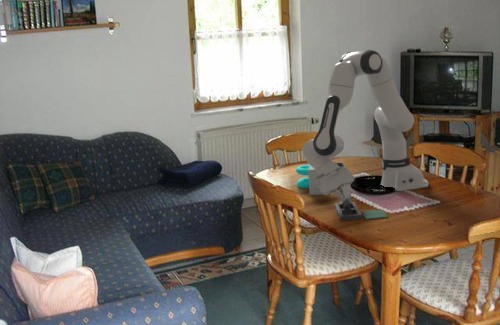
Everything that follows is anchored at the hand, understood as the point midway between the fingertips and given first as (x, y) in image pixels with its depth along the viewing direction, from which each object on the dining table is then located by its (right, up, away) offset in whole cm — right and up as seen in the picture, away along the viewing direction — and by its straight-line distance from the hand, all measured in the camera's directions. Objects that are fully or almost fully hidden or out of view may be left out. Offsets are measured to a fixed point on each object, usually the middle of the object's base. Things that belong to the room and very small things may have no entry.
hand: (347, 195), depth 260 cm
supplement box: (-9, 0, +30) cm, 31 cm away
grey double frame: (0, -7, -1) cm, 8 cm away
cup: (0, -7, +2) cm, 7 cm away
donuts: (-14, +3, +42) cm, 44 cm away
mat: (+11, -8, -6) cm, 15 cm away
